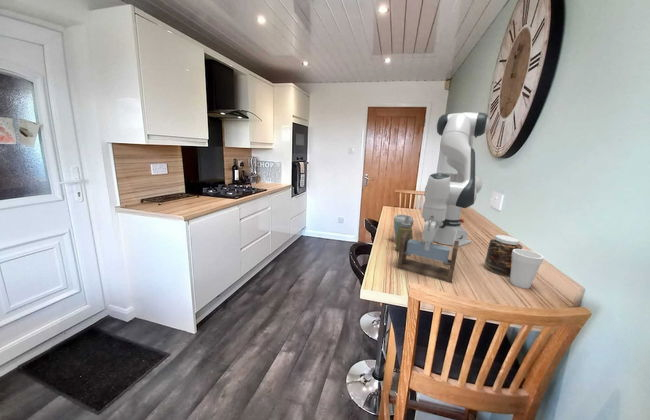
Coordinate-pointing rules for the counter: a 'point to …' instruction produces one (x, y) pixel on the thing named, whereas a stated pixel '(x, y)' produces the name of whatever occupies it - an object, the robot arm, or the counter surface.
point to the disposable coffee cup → (398, 220)
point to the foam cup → (524, 267)
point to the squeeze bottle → (403, 231)
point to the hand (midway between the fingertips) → (428, 246)
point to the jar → (501, 254)
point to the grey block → (434, 252)
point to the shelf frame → (423, 267)
